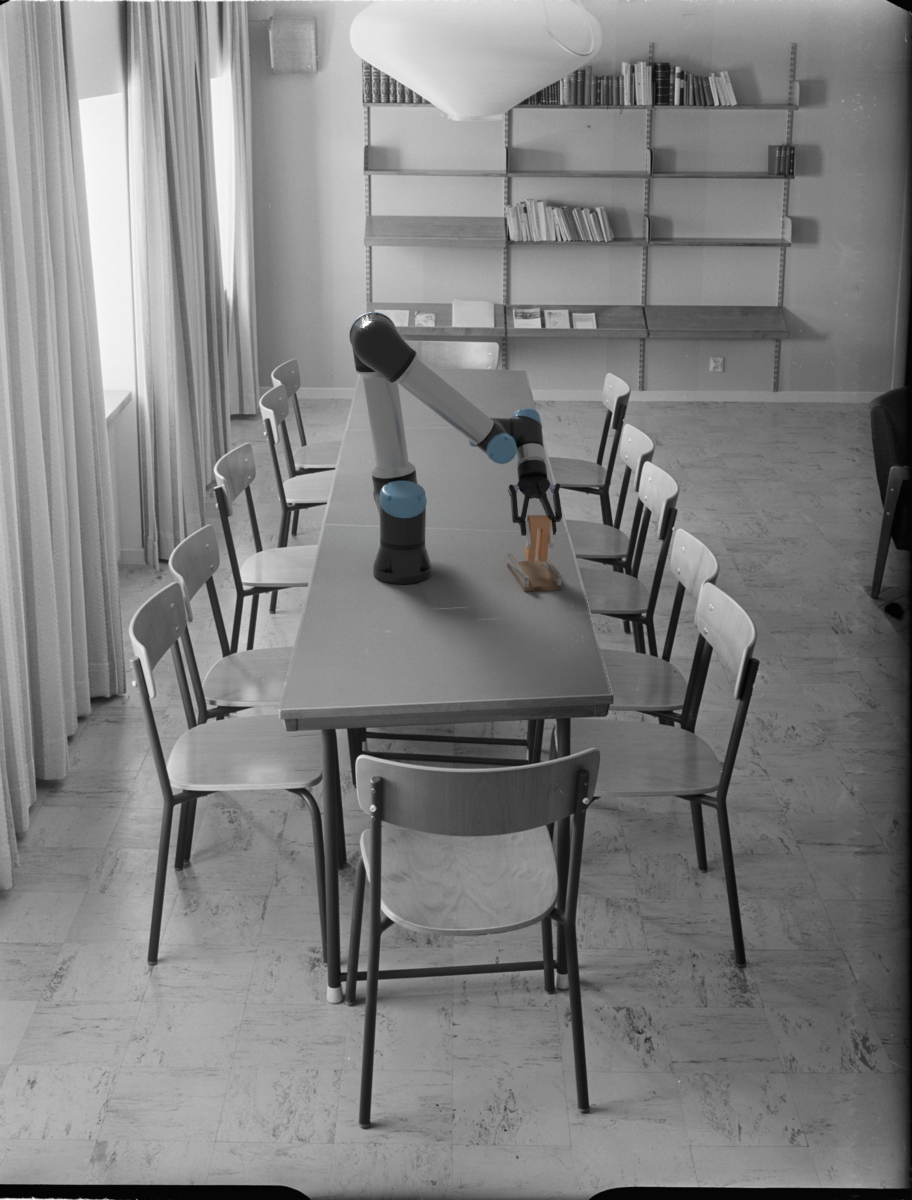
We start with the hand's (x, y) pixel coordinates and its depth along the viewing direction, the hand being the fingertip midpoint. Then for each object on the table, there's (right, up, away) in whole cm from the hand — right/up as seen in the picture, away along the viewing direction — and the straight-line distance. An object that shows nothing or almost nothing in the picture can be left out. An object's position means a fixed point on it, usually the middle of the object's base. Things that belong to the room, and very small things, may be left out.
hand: (540, 545), depth 301 cm
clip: (-1, -3, +5) cm, 6 cm away
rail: (-1, -8, +7) cm, 11 cm away
